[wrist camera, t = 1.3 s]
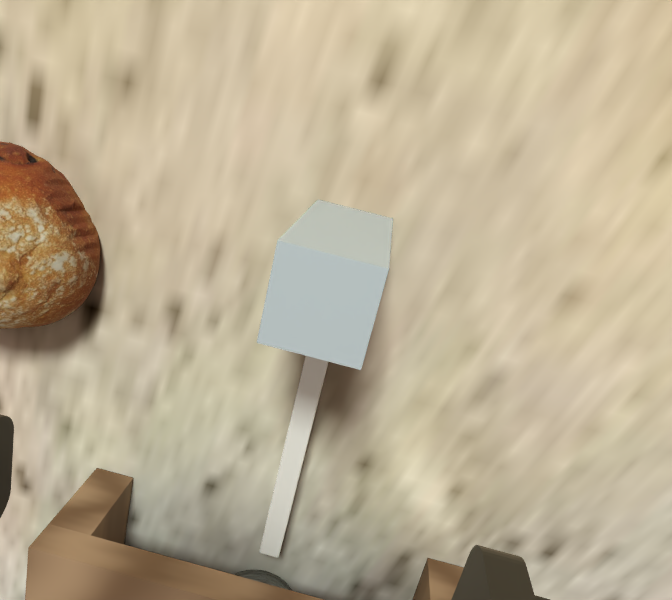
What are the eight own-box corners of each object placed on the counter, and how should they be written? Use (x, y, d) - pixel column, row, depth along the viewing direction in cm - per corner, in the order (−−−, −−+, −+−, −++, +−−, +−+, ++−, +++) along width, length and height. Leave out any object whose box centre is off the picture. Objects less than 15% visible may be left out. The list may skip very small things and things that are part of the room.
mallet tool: (393, 218, 29) (389, 268, 20) (306, 538, 36) (272, 689, 27) (317, 199, 29) (277, 240, 20) (246, 521, 36) (190, 666, 27)
